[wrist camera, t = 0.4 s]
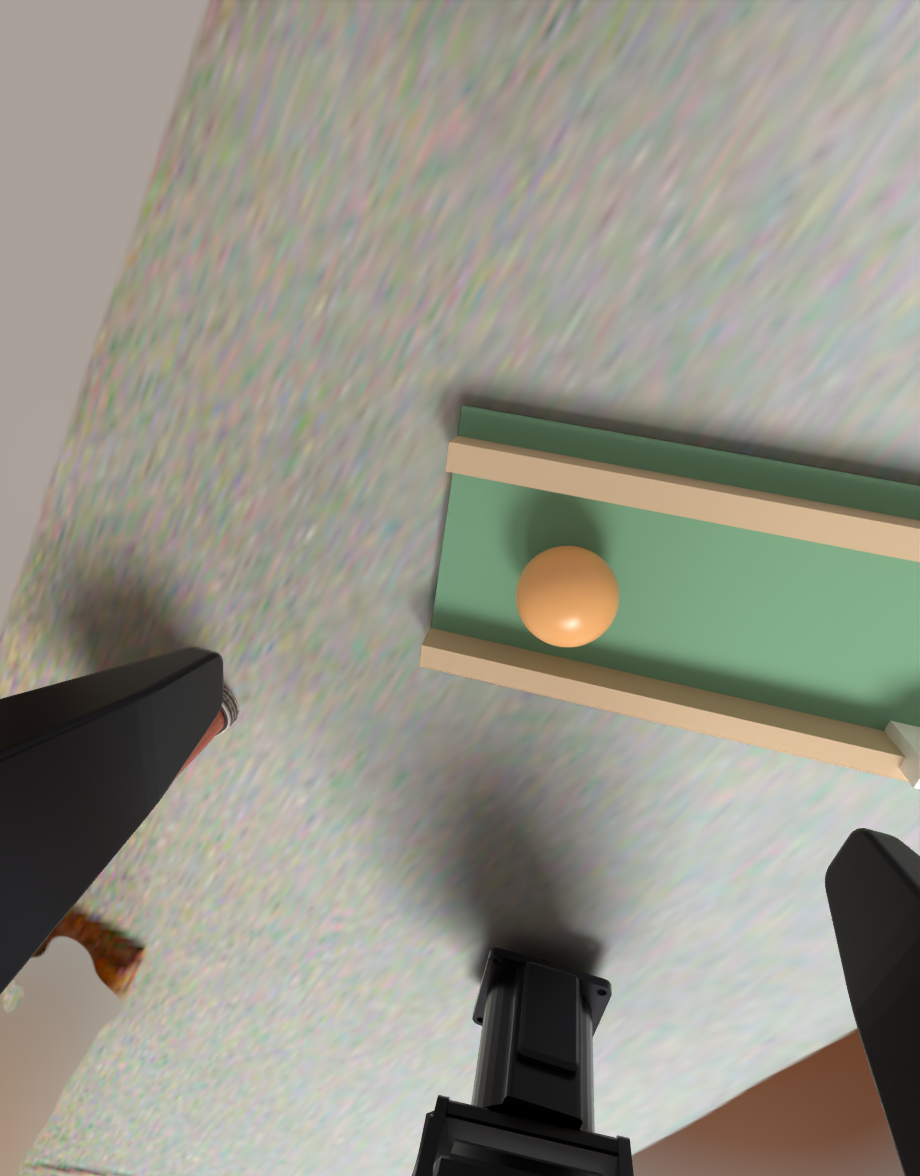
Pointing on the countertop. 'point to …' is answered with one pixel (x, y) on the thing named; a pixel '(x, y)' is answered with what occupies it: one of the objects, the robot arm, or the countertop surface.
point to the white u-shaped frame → (907, 749)
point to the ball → (567, 596)
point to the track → (690, 586)
